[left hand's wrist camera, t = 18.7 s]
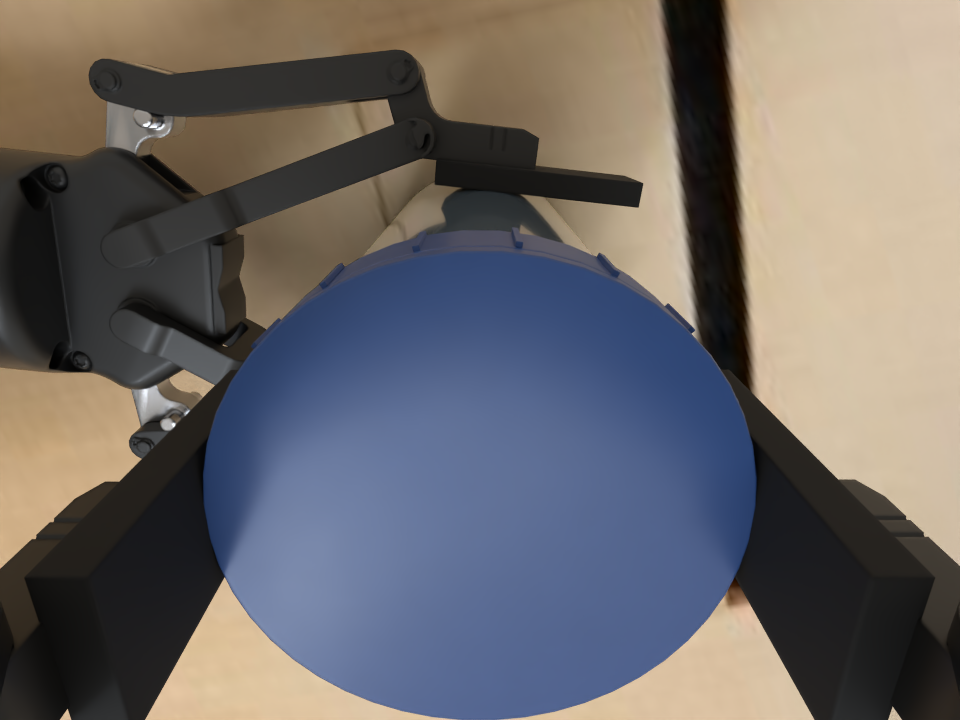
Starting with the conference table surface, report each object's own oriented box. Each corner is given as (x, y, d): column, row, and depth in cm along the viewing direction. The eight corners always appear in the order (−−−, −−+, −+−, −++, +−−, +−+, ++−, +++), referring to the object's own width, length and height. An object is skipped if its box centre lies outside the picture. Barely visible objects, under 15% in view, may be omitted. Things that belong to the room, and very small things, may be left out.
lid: (616, 124, 10) (645, 126, 8) (780, 555, 13) (826, 623, 11) (140, 362, 11) (79, 406, 10) (388, 699, 15) (376, 778, 13)
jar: (393, 357, 30) (283, 669, 13) (376, 174, 27) (201, 270, 10) (570, 351, 30) (690, 657, 13) (573, 166, 27) (737, 250, 10)
